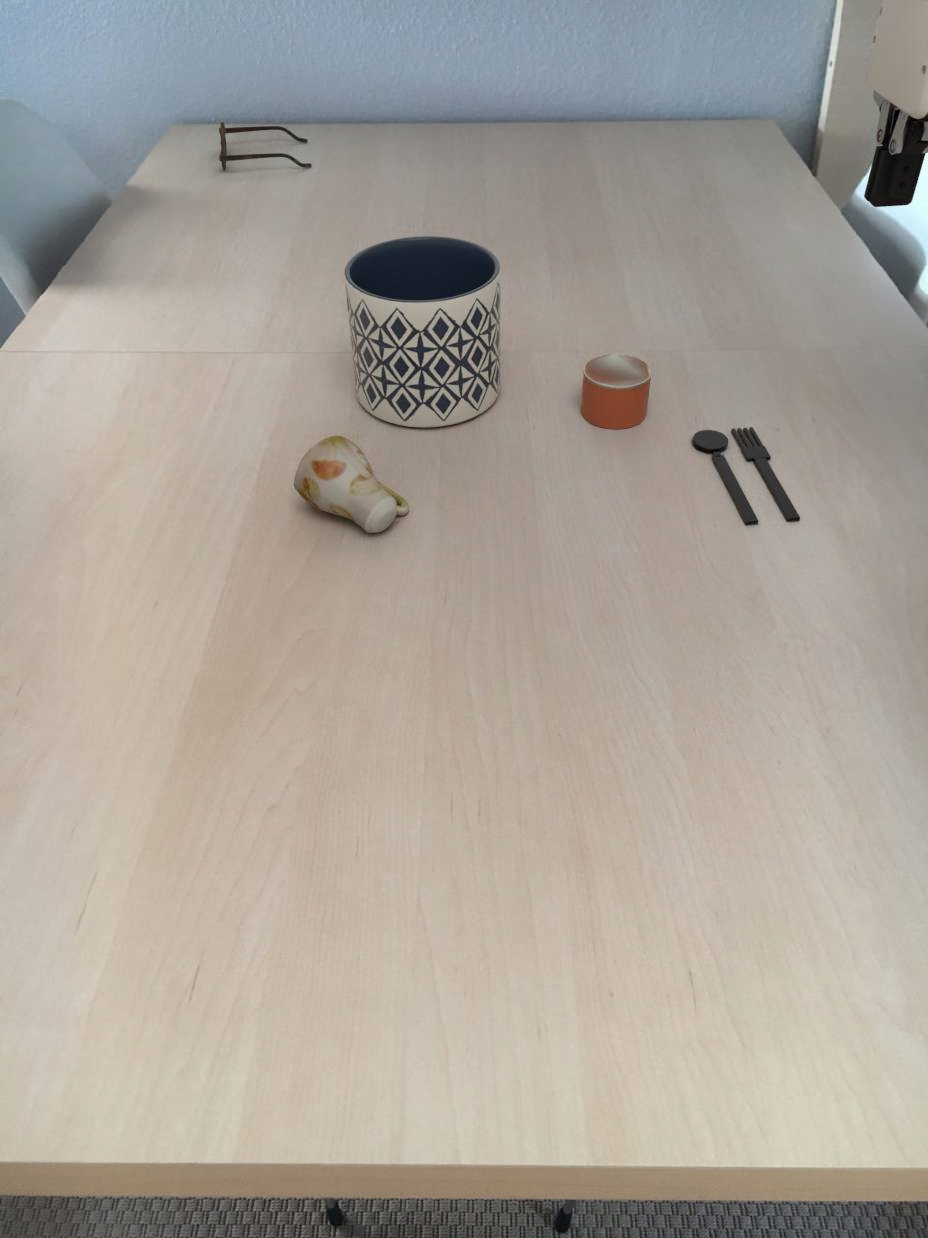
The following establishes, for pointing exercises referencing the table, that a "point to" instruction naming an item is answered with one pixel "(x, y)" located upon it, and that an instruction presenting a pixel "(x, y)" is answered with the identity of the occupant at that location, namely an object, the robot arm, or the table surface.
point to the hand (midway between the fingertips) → (887, 201)
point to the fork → (765, 470)
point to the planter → (425, 329)
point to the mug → (347, 485)
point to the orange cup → (615, 390)
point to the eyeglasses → (224, 157)
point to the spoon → (724, 470)
